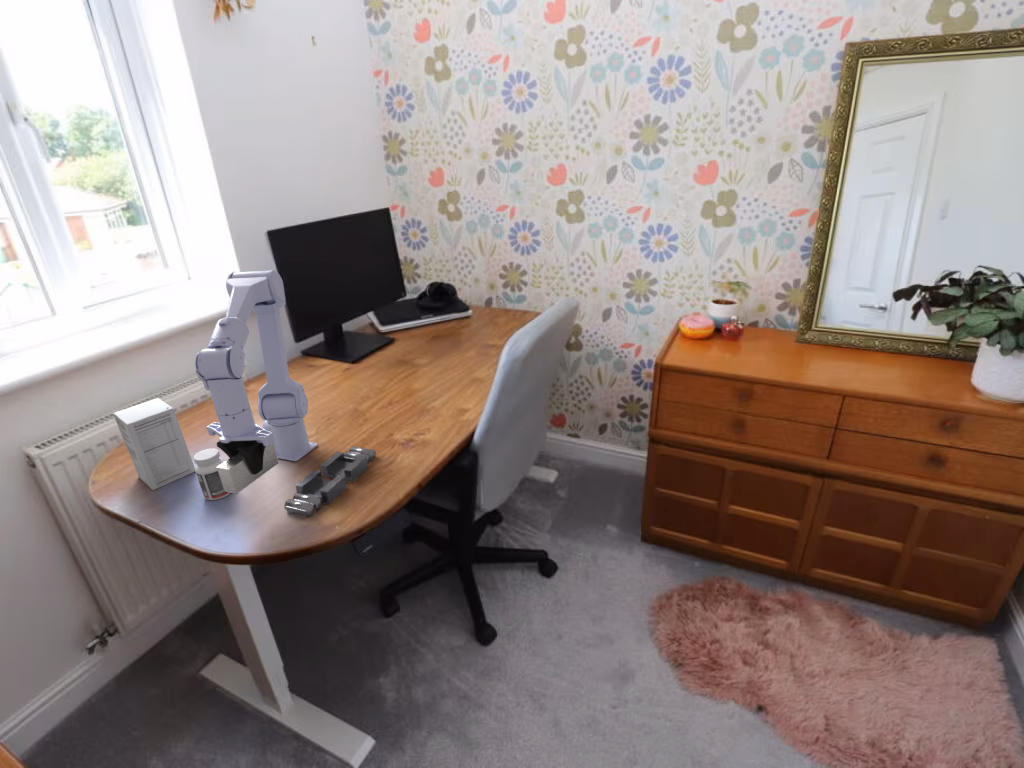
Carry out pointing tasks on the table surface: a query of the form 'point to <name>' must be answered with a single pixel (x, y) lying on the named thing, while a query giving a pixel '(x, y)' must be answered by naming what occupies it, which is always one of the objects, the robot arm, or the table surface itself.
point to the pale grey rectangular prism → (244, 470)
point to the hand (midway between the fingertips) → (250, 470)
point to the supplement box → (155, 442)
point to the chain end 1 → (314, 494)
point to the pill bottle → (209, 473)
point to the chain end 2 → (348, 463)
